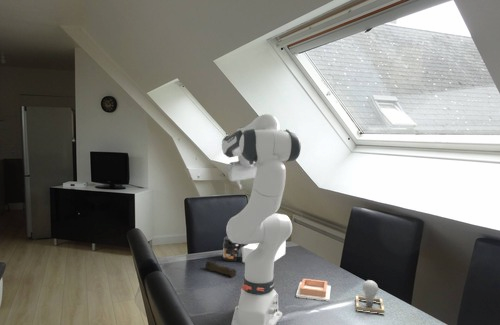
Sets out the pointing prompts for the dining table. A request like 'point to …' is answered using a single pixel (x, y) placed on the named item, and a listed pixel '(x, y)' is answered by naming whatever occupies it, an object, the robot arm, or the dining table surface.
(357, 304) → the square wooden frame
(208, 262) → the hand tool
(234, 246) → the supplement container
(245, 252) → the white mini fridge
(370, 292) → the lightbulb
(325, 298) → the socket
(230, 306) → the dining table surface
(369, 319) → the dining table surface
